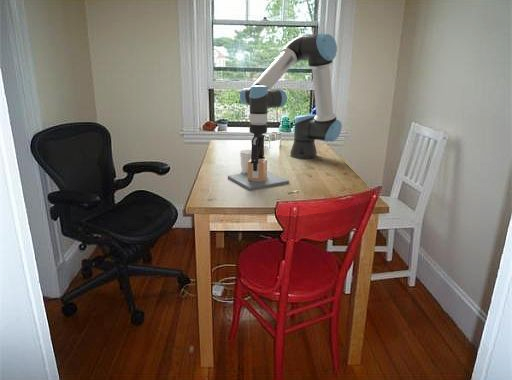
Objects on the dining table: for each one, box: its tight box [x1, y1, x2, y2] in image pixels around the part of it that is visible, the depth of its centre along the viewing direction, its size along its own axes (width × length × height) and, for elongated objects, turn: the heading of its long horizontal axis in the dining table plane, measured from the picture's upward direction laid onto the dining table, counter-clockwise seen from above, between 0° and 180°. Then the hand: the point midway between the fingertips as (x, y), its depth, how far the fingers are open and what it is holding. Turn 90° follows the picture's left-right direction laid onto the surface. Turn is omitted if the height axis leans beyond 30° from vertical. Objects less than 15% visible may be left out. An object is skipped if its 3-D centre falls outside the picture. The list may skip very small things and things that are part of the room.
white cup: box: [239, 149, 252, 173], centre depth 174 cm, size 8×8×10 cm
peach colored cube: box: [248, 158, 268, 181], centre depth 160 cm, size 7×7×8 cm
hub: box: [227, 170, 290, 191], centre depth 161 cm, size 20×20×5 cm
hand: (257, 175), depth 161 cm, fingers closed on peach colored cube, 7 cm apart
